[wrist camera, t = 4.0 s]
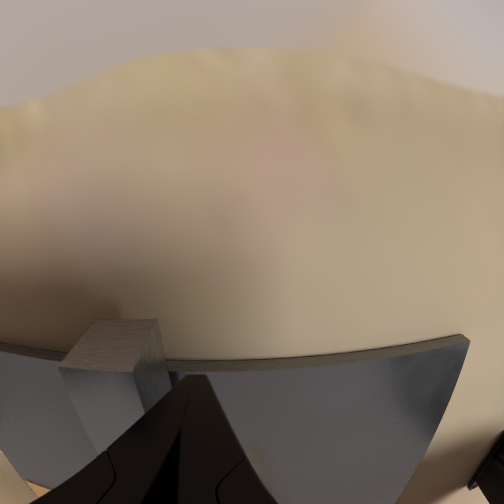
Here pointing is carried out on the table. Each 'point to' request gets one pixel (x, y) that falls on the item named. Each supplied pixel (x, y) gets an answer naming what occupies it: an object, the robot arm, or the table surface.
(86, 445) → the plate
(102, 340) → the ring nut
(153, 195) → the table surface
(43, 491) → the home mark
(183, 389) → the robot arm
